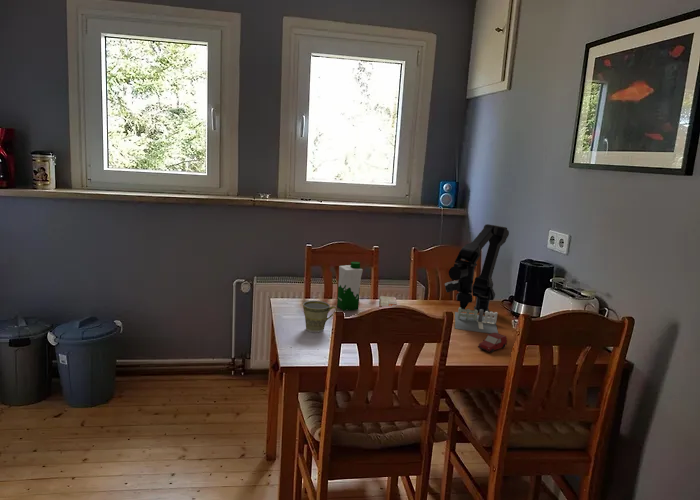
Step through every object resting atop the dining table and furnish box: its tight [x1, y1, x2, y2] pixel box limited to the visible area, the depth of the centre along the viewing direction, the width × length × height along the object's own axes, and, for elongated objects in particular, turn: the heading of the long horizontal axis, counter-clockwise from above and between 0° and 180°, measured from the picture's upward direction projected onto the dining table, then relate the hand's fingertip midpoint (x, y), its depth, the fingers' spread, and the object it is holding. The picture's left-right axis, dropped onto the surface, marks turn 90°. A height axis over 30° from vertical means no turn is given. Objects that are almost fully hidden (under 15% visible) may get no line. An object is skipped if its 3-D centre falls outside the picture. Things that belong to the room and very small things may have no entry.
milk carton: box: [336, 261, 364, 311], centre depth 226 cm, size 9×9×20 cm
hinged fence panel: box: [457, 306, 479, 320], centre depth 223 cm, size 8×1×4 cm, turn 80°
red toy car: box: [477, 332, 508, 353], centre depth 194 cm, size 6×12×5 cm, turn 132°
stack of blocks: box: [378, 295, 398, 308], centre depth 206 cm, size 21×6×12 cm, turn 177°
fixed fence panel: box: [478, 309, 498, 324], centre depth 222 cm, size 7×2×5 cm, turn 79°
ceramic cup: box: [302, 300, 338, 334], centre depth 198 cm, size 13×10×10 cm
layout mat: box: [454, 311, 499, 334], centre depth 221 cm, size 22×17×1 cm
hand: (461, 311), depth 225 cm, fingers closed
